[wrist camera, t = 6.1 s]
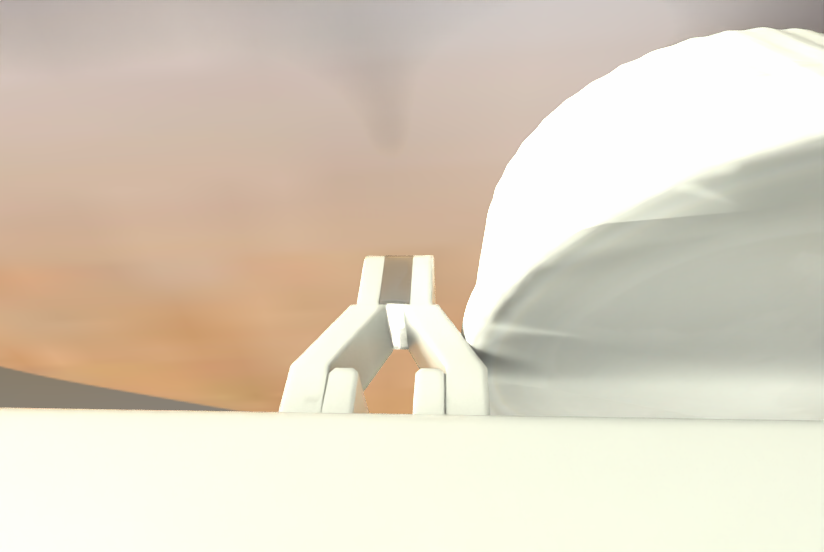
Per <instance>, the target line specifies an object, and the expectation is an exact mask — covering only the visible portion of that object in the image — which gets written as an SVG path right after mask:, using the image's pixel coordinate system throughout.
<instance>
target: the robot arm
mask: <svg viewBox="0 0 824 552" xmlns="http://www.w3.org/2000/svg"><path fill="white" fill-rule="evenodd" d="M393 349H409V352H410V354H411V355H412V357H413V359H414V360H415V362H416V364H417V366H418V367H419V369H420V370H419V371H418V372H416V374H415V388H414V403H413V414H372V413H369V410H368V407H367V403H366V400H365V396H364V390H365V389H366V388H367V386H368V385H369V383H370V382H371V381H372V379H373V378H374V377H375V375H376V374H377V372H378V371H379V370H380V368H381V367H382V366H383V364H384V363H385V361H386V360H387V359H388V357H389V356H390V355H391V353H392V352H393ZM0 552H824V420H765V419H700V418H636V417H571V416H505V415H490V401H489V386H488V372H487V367H486V366H485V364H484V363H483V362H482V360H481V359H480V358H479V357H478V355H477V354H476V353H475V351H474V350H473V349H472V348H471V346H470V345H469V344H468V342H467V341H466V340H465V339H464V337H463V336H462V335H461V333H460V332H459V331H458V330H457V328H456V327H455V326H454V324H453V323H452V322H451V321H450V319H449V318H448V317H447V315H446V314H445V313H444V312H443V310H442V309H441V308H440V306H439V305H436V304H435V274H434V256H433V255H418V256H366V258H365V260H364V265H363V271H362V277H361V283H360V289H359V295H358V301H357V305H351V306H350V307H349V308H348V309H347V310H346V311H345V312H344V313H343V314H342V315H341V316H340V317H339V318H338V319H337V320H336V321H335V322H334V323H333V324H332V325H331V326H330V327H329V328H328V329H327V330H326V331H325V332H324V333H323V334H322V335H321V336H320V337H319V338H318V339H317V340H316V341H315V342H314V343H313V344H312V345H311V346H310V347H309V348H308V349H307V350H306V351H305V352H304V353H303V354H302V355H301V356H300V357H299V358H298V359H297V360H296V361H295V362H294V363H293V364H292V365H291V367H290V370H289V374H288V378H287V382H286V386H285V389H284V393H283V397H282V401H281V405H280V408H279V412H243V411H179V410H178V411H177V410H173V411H172V410H114V409H53V408H52V409H51V408H0Z"/></svg>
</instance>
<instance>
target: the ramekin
mask: <svg viewBox="0 0 824 552" xmlns="http://www.w3.org/2000/svg"><path fill="white" fill-rule="evenodd" d="M461 335H462V336H463V337H464V339H465V340H466V341H467V342H468V344H469V345H470V346H471V348H472V349H473V350H474V351H475V353H476V354H477V355H478V357H479V358H480V359H481V360H482V362H483V363H484V364H485V366H486V367H487V372H488V386H489V401H490V415H505V416H571V417H636V418H700V419H765V420H824V33H818V32H814V31H812V30H806V29H796V28H793V29H784V30H778V29H773V28H768V27H759V28H754V29H749V30H744V31H724V32H720V33H717V34H714V35H710V36H705V37H695V38H691V39H688V40H685V41H683V42H680V43H678V44H675V45H673V46H670V47H666V48H663V49H659V50H655V51H652V52H650V53H648V54H646V55H645V56H643V57H641V58H639V59H637V60H634V61H632V62H629V63H626V64H623V65H621V66H619V67H618V68H616V69H615V70H613V71H612V72H611V73H609V74H607V75H606V76H604V77H602V78H599V79H597V80H595V81H593V82H591V83H590V84H589V85H587V86H586V87H585V88H583V89H582V90H581V91H580V92H578V93H577V94H575V95H573V96H572V97H570V98H569V99H567V100H566V101H564V102H563V103H562V104H561V105H560V106H559V107H558V108H557V109H556V110H555V111H553V112H552V113H551V114H550V115H549V116H547V117H546V118H545V119H544V120H543V121H542V122H541V124H540V125H539V126H538V127H537V129H536V130H535V131H534V132H533V133H532V134H531V135H530V136H529V137H528V138H527V139H526V140H525V141H524V142H523V143H522V145H521V146H520V148H519V150H518V151H517V153H516V155H515V156H514V157H513V158H512V160H511V161H510V162H509V163H508V165H507V167H506V169H505V172H504V174H503V177H502V178H501V180H500V181H499V183H498V185H497V186H496V189H495V193H494V196H493V201H492V203H491V205H490V208H489V212H488V216H487V222H486V228H485V234H484V240H483V246H482V252H481V258H480V263H479V270H478V276H477V282H476V286H475V288H474V290H473V292H472V294H471V297H470V299H469V302H468V304H467V307H466V311H465V314H464V319H463V324H462V332H461Z"/></svg>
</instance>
